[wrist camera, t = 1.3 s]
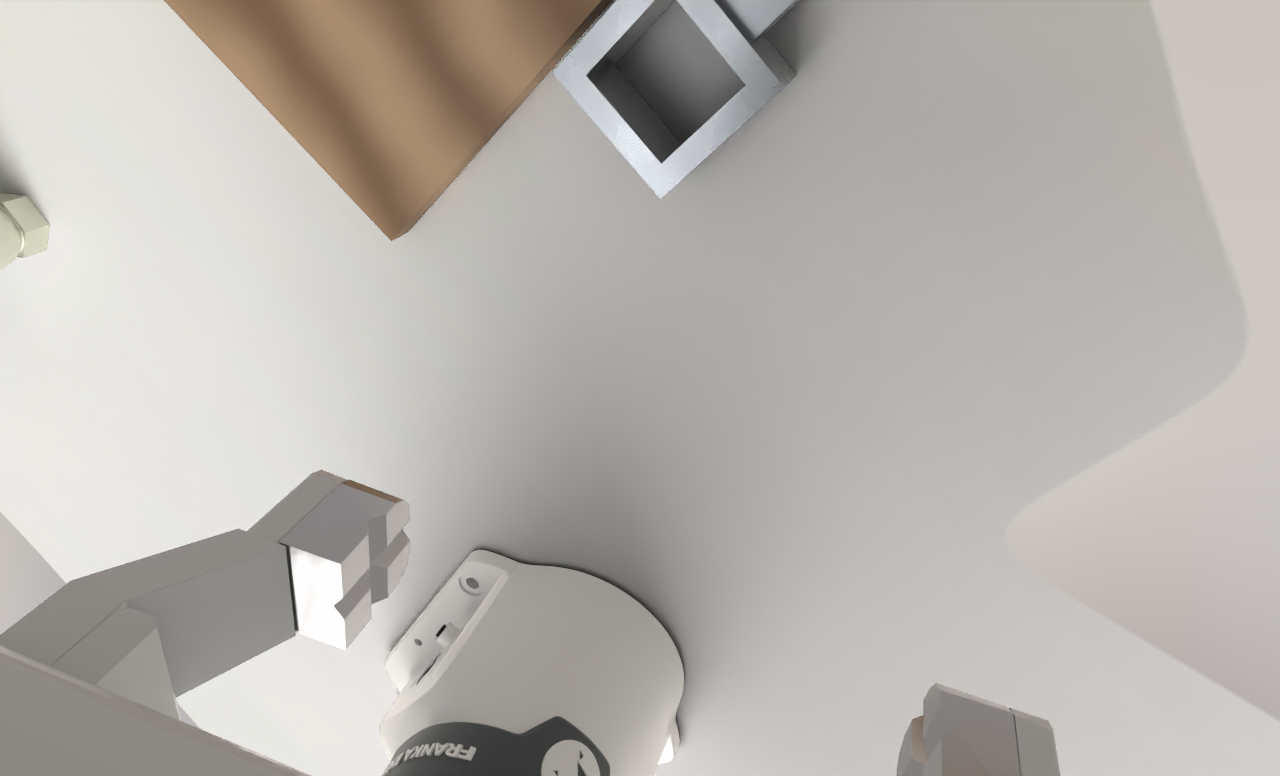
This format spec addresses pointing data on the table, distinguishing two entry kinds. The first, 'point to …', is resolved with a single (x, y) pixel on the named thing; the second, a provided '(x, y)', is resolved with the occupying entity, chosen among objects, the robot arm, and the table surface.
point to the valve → (20, 228)
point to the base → (390, 81)
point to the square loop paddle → (735, 25)
